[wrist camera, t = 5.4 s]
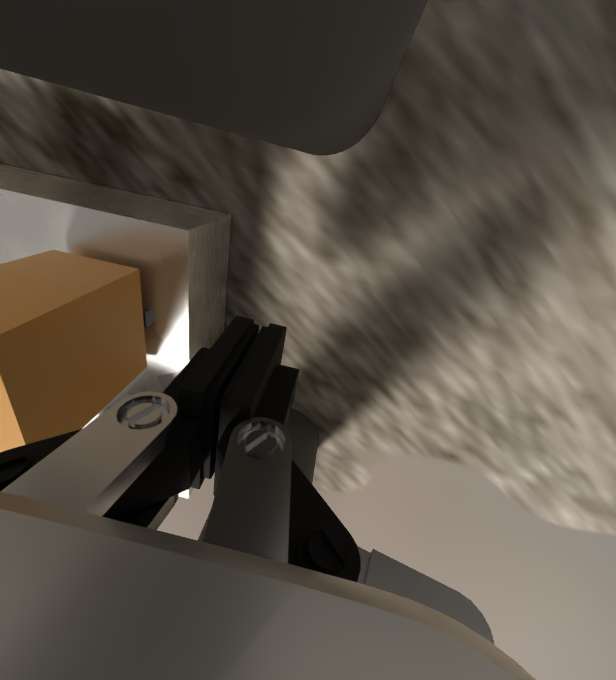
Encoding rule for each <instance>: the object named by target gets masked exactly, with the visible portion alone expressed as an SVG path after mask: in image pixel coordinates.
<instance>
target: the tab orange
mask: <svg viewBox="0 0 616 680" xmlns="http://www.w3.org/2000/svg"><path fill="white" fill-rule="evenodd" d="M145 368H147V359H146V346H145V334H144V321H143V309H142V296H141V283H140V271H139V269H137V268H132V267H128V266H124V265H119V264H115V263H110V262H106V261H102V260H97V259H93V258H88V257H84V256H79V255H75V254H71V253H66V252H62V251H57V250H50V251H46V252H43V253H39V254H35V255H32V256H28V257H24V258H21V259H17V260H13V261H10V262H6V263H2V264H0V452H3V451H6V450H9V449H12V448H16V447H19V446H23V445H26V444H30V443H34V442H37V441H41V440H44V439H48V438H51V437H55V436H58V435H62V434H65V433H69V432H72V431H76V430H79V429H82V428H83V427H84V426H86V425H87V424H88V423H89V422H90V421H91V420H92V419H93V418H94V417H95V416H96V415H97V414H98V413H99V412H100V411H101V410H102V409H103V408H104V407H106V406H107V405H108V404H109V403H110V402H111V401H112V400H113V399H114V398H115V397H116V396H117V395H118V394H119V393H120V392H121V391H122V390H123V389H124V388H125V387H127V386H128V385H129V384H130V383H131V382H132V381H133V380H134V379H135V378H136V377H137V376H138V375H139V374H140V373H141V372H142V371H143V370H144V369H145Z"/></svg>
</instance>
